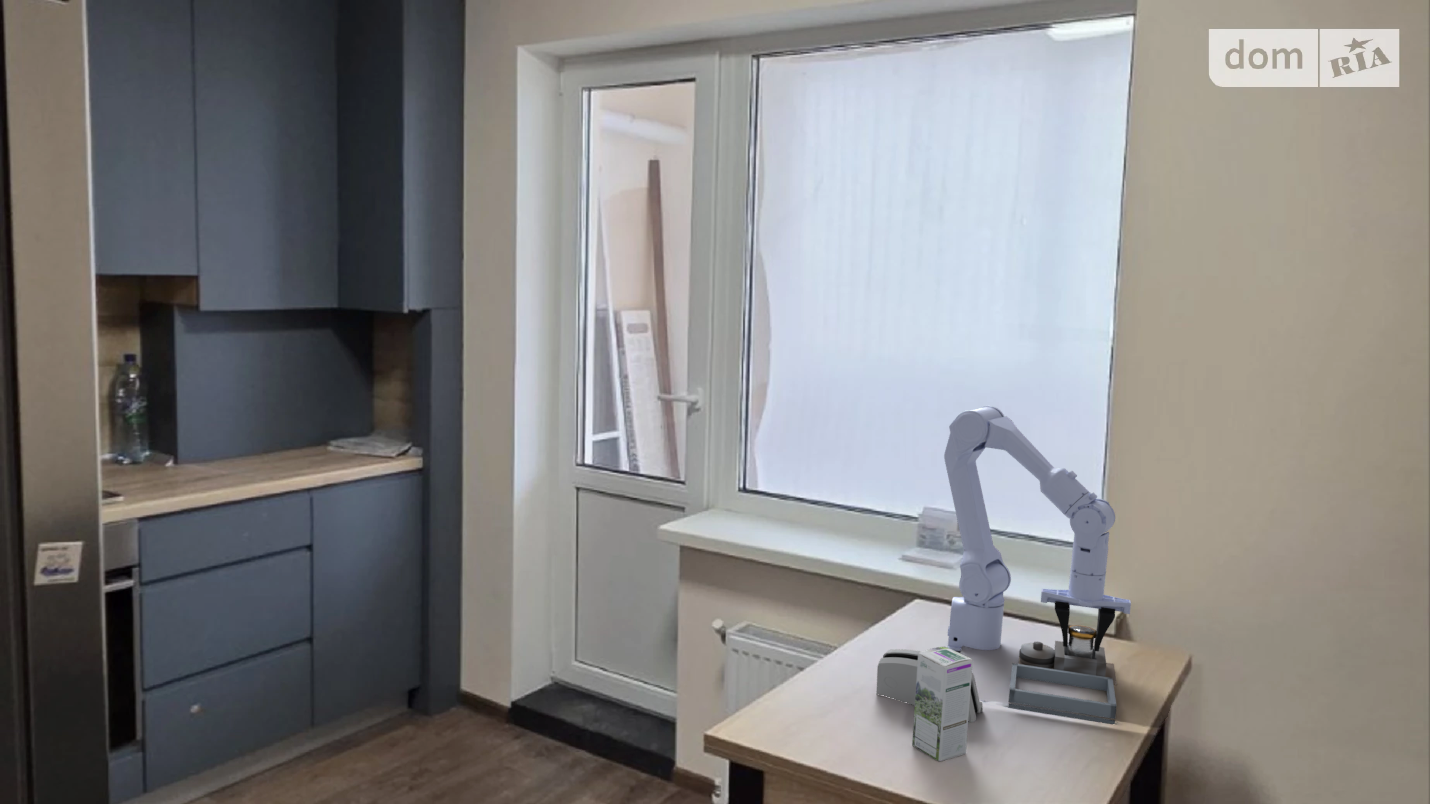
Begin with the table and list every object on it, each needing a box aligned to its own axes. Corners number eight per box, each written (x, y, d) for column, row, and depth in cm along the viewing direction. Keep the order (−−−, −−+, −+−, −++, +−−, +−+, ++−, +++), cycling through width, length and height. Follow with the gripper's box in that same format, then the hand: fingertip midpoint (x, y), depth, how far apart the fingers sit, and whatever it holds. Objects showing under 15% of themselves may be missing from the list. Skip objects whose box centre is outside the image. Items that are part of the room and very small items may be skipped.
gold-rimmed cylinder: (1064, 671, 186) (1068, 632, 185) (1064, 661, 190) (1068, 623, 189) (1093, 675, 184) (1096, 636, 183) (1092, 665, 189) (1095, 627, 188)
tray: (1008, 707, 172) (1009, 689, 172) (1010, 679, 183) (1012, 663, 183) (1114, 724, 168) (1116, 706, 167) (1110, 695, 179) (1112, 678, 178)
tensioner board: (1017, 675, 186) (1019, 650, 185) (1019, 655, 195) (1021, 631, 194) (1116, 690, 181) (1118, 664, 180) (1113, 669, 190) (1115, 644, 190)
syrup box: (967, 754, 155) (975, 657, 153) (937, 763, 152) (945, 664, 150) (939, 738, 160) (946, 644, 158) (909, 746, 157) (916, 651, 155)
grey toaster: (985, 712, 170) (982, 661, 166) (974, 731, 167) (970, 680, 163) (888, 684, 179) (883, 635, 175) (875, 702, 176) (870, 652, 172)
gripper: (1043, 571, 183) (1036, 648, 185) (1135, 583, 179) (1126, 661, 181) (1043, 560, 190) (1037, 635, 192) (1132, 571, 186) (1124, 647, 188)
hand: (1080, 647), depth 187 cm, fingers closed on gold-rimmed cylinder, 4 cm apart
